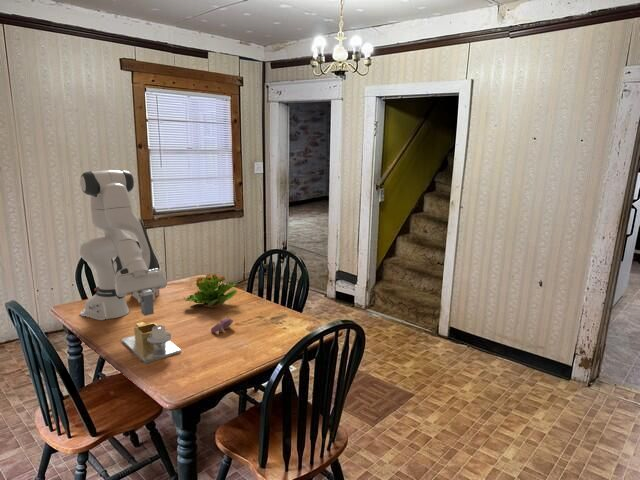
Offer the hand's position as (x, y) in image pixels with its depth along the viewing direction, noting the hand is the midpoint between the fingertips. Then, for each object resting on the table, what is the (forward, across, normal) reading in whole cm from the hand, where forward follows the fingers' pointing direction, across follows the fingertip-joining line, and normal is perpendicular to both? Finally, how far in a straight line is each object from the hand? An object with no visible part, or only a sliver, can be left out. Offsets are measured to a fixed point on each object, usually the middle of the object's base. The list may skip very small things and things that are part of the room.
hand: (147, 300), depth 176 cm
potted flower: (-4, -45, -33) cm, 56 cm away
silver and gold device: (+15, 0, -14) cm, 21 cm away
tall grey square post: (+4, 0, -4) cm, 6 cm away
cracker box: (-29, -22, -58) cm, 68 cm away
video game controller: (+18, -32, -11) cm, 38 cm away
